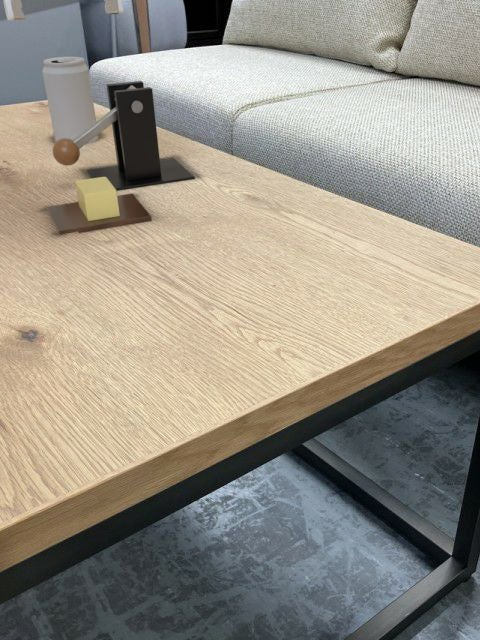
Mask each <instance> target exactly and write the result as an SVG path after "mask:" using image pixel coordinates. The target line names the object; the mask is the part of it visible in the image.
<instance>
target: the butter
mask: <svg viewBox="0 0 480 640" xmlns="http://www.w3.org/2000/svg"><path fill="white" fill-rule="evenodd" d="M74 184H75V189H76V195H77V202H79V207H80V208H81V210H82V211H83V213H84V215H85V216H86V218H87V220H88V221H93V220H99V219H105V218H111V217H117V216H120V213H119V206H118V199H117V196H118V191H116V189H115V188H114V187H113V185H112V184H111V183H110V181H109V180H108V179H107V177H99V178H92V179H91V178H86V179H79V180H78V179H77V180H74Z"/></svg>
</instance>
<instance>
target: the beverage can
mask: <svg viewBox="0 0 480 640" xmlns="http://www.w3.org/2000/svg"><path fill="white" fill-rule="evenodd" d="M42 63H43V64H44V66H43V68H42V78H43V82H44V88H45V93H46V99H47V106H48V110H49V115H50V122H51V127H52V132H53V137H54V142H55V143H56V141H58V140H59V139H62V138H68V139H71V140H73V139H75V138H76V137H77V136H79V135H80V134H81V133H83V132H84V131H85V130H86V129H88V128H89V127H90V126H92V125H93V124H94V123H95V122H97V117H96V111H95V104H94V98H93V97H94V96H93V92H92V91H93V90H92V84H91V76H90V72H89V66H88V65H87V64H86V63H85V58H84V57H80V56H56V57H50V58H46V59H44V60H43V62H42ZM99 138H100V137H99V134H98V135H97V136H95V137H94V138H93V139H91V140H90V141H89V142H88V143H86V144H85V145H87V144H92V143H94V142H96V141H98V140H99Z"/></svg>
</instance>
